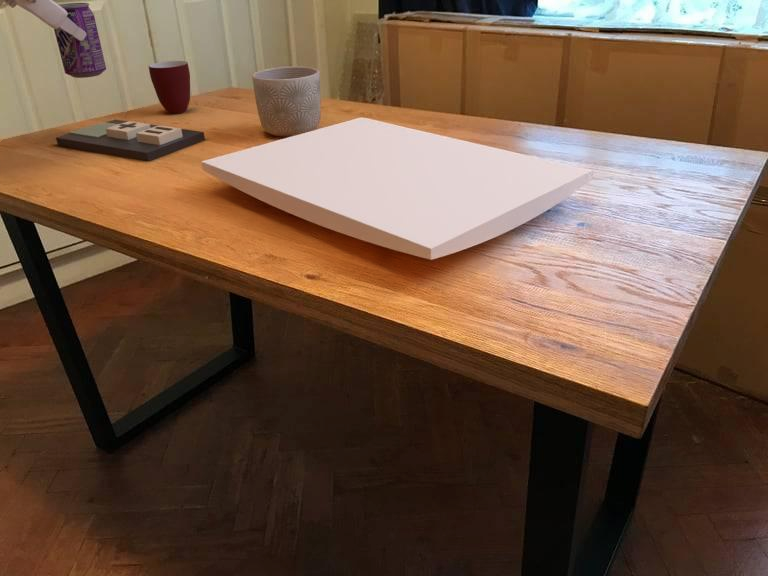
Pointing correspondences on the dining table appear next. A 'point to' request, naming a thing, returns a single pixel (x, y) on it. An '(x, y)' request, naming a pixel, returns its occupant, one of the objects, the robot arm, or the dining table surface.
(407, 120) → the dining table surface
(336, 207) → the board
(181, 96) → the mug
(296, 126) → the planter
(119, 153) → the letter board
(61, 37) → the beverage can
